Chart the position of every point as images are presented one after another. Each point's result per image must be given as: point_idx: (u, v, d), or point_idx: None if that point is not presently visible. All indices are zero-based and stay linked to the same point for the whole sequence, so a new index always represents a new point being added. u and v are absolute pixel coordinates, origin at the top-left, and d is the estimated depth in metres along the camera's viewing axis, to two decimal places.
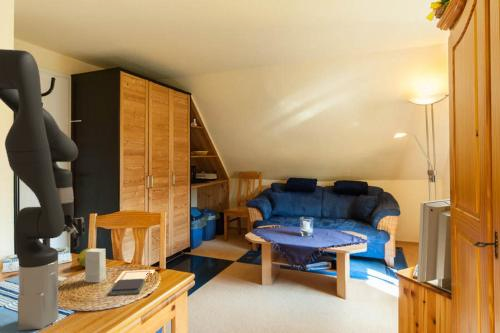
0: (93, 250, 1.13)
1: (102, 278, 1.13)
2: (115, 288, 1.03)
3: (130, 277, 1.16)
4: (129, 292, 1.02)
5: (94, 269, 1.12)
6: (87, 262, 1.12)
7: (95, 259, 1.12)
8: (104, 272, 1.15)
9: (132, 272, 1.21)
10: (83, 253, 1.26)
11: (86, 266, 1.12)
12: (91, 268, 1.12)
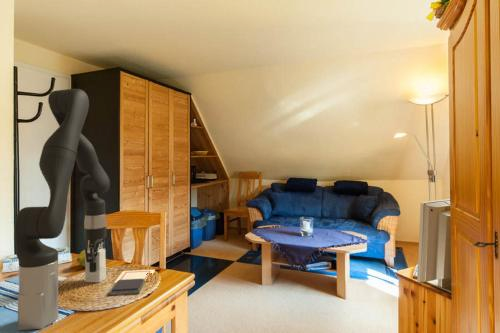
0: None
1: (102, 278, 1.13)
2: (115, 288, 1.03)
3: (130, 277, 1.16)
4: (129, 292, 1.02)
5: None
6: None
7: None
8: (104, 272, 1.15)
9: (132, 272, 1.21)
10: (83, 253, 1.26)
11: (86, 266, 1.12)
12: None
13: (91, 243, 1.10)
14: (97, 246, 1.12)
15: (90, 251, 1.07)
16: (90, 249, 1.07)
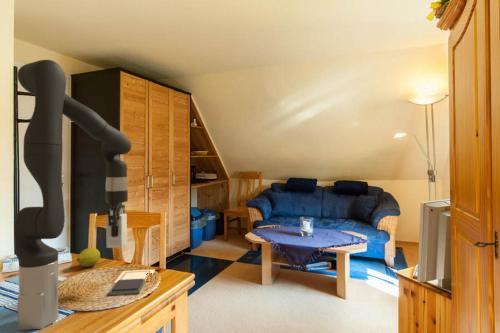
0: None
1: (124, 244, 1.08)
2: (115, 288, 1.03)
3: (130, 277, 1.16)
4: (129, 292, 1.02)
5: None
6: (108, 227, 1.07)
7: None
8: (125, 238, 1.09)
9: (132, 272, 1.21)
10: (83, 253, 1.26)
11: (107, 231, 1.07)
12: None
13: (113, 206, 1.05)
14: (119, 210, 1.07)
15: (113, 213, 1.02)
16: (113, 211, 1.02)
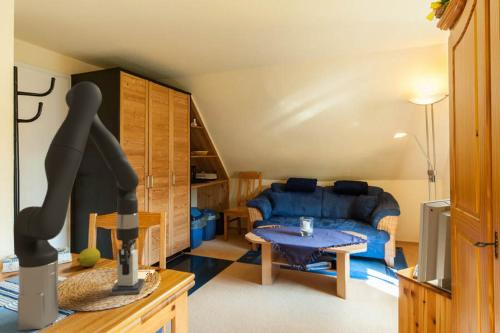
0: None
1: (135, 281, 1.06)
2: (115, 288, 1.03)
3: None
4: (129, 292, 1.02)
5: None
6: (119, 264, 1.05)
7: None
8: (136, 275, 1.07)
9: None
10: (83, 253, 1.26)
11: (118, 268, 1.05)
12: None
13: (124, 244, 1.03)
14: (130, 247, 1.05)
15: (124, 252, 1.00)
16: (124, 250, 1.00)
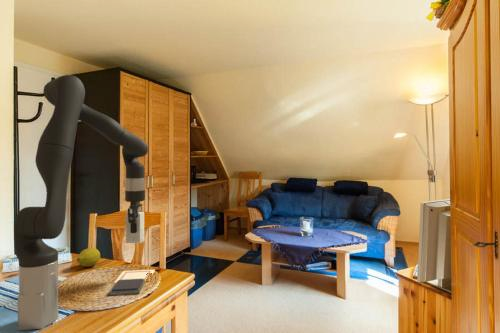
0: None
1: (142, 239, 1.17)
2: (115, 288, 1.03)
3: (130, 277, 1.16)
4: (129, 292, 1.02)
5: None
6: (128, 224, 1.16)
7: None
8: (143, 234, 1.18)
9: (132, 272, 1.21)
10: (83, 253, 1.26)
11: (127, 228, 1.16)
12: None
13: (132, 205, 1.14)
14: (137, 208, 1.16)
15: (132, 211, 1.11)
16: (132, 209, 1.11)
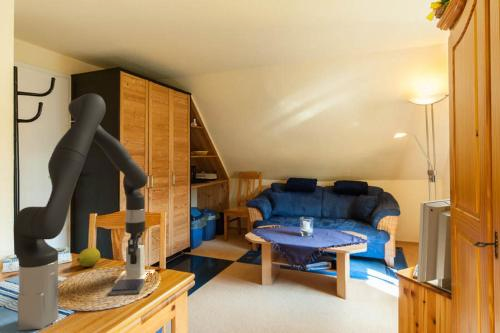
0: None
1: (142, 273, 1.17)
2: (115, 288, 1.03)
3: (130, 277, 1.16)
4: (129, 292, 1.02)
5: (135, 264, 1.16)
6: (128, 258, 1.16)
7: None
8: (143, 267, 1.19)
9: None
10: (83, 253, 1.26)
11: (127, 262, 1.16)
12: (131, 264, 1.16)
13: (133, 236, 1.14)
14: (138, 239, 1.16)
15: (132, 242, 1.11)
16: (132, 240, 1.11)
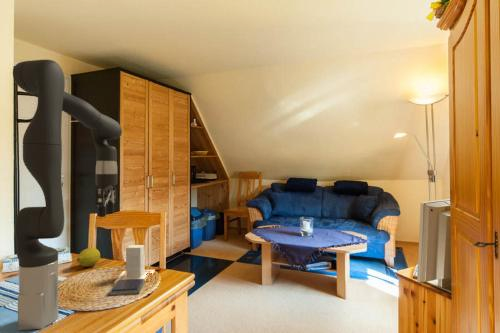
0: (133, 246, 1.17)
1: (142, 273, 1.17)
2: (115, 288, 1.03)
3: (130, 277, 1.16)
4: (129, 292, 1.02)
5: (135, 264, 1.16)
6: (128, 258, 1.16)
7: (136, 254, 1.16)
8: (143, 267, 1.19)
9: None
10: (83, 253, 1.26)
11: (127, 262, 1.16)
12: (131, 264, 1.16)
13: (102, 188, 1.09)
14: (108, 192, 1.10)
15: (101, 192, 1.05)
16: (101, 189, 1.06)
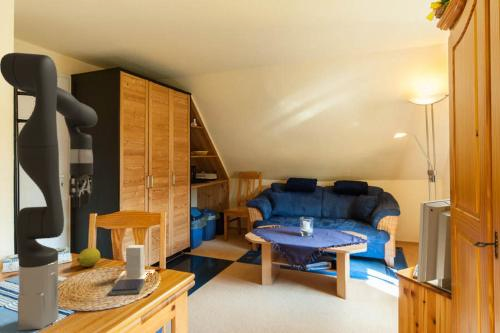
0: (133, 246, 1.17)
1: (142, 273, 1.17)
2: (115, 288, 1.03)
3: (130, 277, 1.16)
4: (129, 292, 1.02)
5: (135, 264, 1.16)
6: (128, 258, 1.16)
7: (136, 255, 1.16)
8: (143, 267, 1.19)
9: None
10: (83, 253, 1.26)
11: (127, 262, 1.16)
12: (131, 264, 1.16)
13: (77, 177, 1.05)
14: (83, 181, 1.06)
15: (74, 181, 1.01)
16: (75, 179, 1.02)
